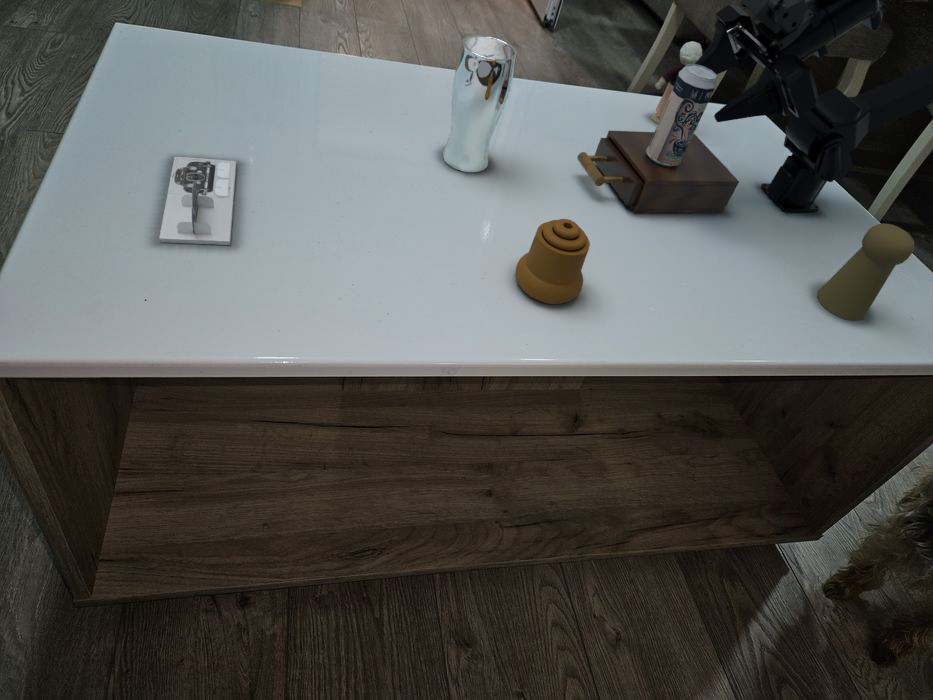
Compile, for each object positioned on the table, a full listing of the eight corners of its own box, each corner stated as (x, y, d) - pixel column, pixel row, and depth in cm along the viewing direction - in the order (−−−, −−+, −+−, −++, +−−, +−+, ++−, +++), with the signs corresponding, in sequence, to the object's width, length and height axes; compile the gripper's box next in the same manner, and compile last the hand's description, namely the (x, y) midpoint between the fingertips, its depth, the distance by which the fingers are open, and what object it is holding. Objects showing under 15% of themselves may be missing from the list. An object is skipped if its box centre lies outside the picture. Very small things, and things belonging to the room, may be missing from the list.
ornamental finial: (501, 285, 74) (531, 254, 79) (562, 318, 72) (589, 284, 77) (519, 225, 68) (551, 195, 74) (586, 258, 67) (613, 226, 72)
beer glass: (430, 161, 89) (451, 45, 78) (451, 140, 94) (474, 28, 83) (479, 181, 88) (507, 66, 77) (498, 158, 93) (526, 48, 82)
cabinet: (634, 213, 90) (648, 180, 86) (596, 162, 98) (608, 130, 94) (722, 212, 95) (739, 181, 91) (680, 163, 102) (694, 133, 99)
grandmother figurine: (672, 113, 114) (706, 37, 106) (686, 125, 112) (721, 48, 103) (636, 115, 111) (667, 36, 102) (650, 127, 109) (683, 48, 100)
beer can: (662, 171, 89) (703, 82, 80) (637, 152, 91) (674, 63, 83) (686, 165, 91) (728, 78, 83) (661, 147, 94) (699, 60, 85)
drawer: (598, 206, 88) (607, 183, 86) (566, 158, 95) (573, 136, 92) (710, 205, 94) (721, 184, 91) (672, 161, 101) (682, 140, 98)
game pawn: (861, 328, 82) (922, 256, 74) (812, 304, 83) (867, 230, 76) (868, 303, 86) (926, 232, 78) (821, 281, 87) (874, 209, 80)
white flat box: (230, 245, 70) (228, 208, 67) (159, 242, 68) (153, 204, 65) (236, 164, 80) (234, 129, 77) (174, 159, 78) (170, 123, 75)
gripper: (765, -68, 82) (647, 17, 86) (855, -7, 69) (712, 88, 74) (786, 9, 89) (677, 83, 94) (870, 76, 77) (740, 157, 82)
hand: (699, 100), depth 86 cm, fingers open, 9 cm apart
